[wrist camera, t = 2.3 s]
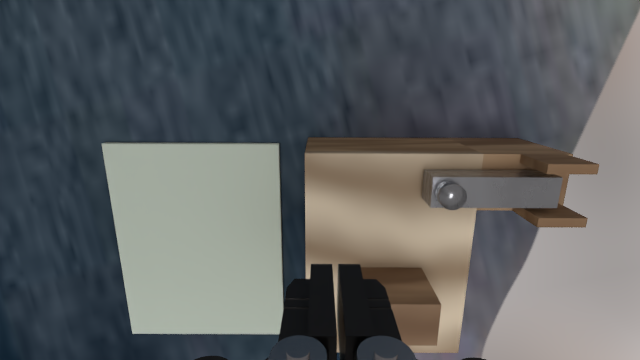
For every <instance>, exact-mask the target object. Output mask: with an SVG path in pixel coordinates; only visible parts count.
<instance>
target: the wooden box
mask: <svg viewBox="0 0 640 360" xmlns="http://www.w3.org/2000/svg"><path fill="white" fill-rule="evenodd" d="M305 151H478V152H480V153H482V154H484V155H483V163H482V170H538V171H540V172H543V173H545V174H555V175H558V176H560V177H563V180H562V185H561V191H560V196H559V201H558V206H557V208H477V210H512V211H514V212H515V213H517V214H518V215H520V216H521V217H523V218H524V219H526V220H527V221H529V222H530V223H532V224H533V225H535V226H536V227H586V223H587V218H586V217H584V216H582V215H580V214H578V213H576V212H574V211H572V210H570V209H569V208H566V207H565V206H563V203H564V198H565V193H566V188H567V183H568V178H569V174H597V173H598V168H599V164H596V163H593V162H590V161H586V160H583V159H580V158H576V157H573V154H570V153H567V152H563V151H560V150H556V149H553V148H550V147H546V146H543V145H539V144H536V143H532V142H529V141H526V140H522V139H519V138H331V137H308V141H307V145H306V150H305Z"/></svg>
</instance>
